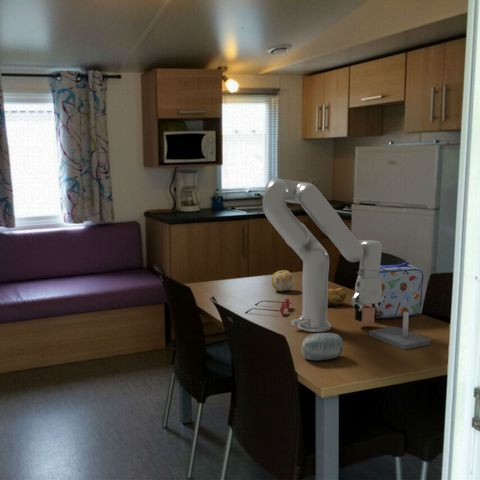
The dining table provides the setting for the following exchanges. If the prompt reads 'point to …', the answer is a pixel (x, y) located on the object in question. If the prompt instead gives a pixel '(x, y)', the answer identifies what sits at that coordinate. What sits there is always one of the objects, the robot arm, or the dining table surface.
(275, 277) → the fruit
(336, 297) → the bread roll
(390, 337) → the grey peg stand
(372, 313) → the bead
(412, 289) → the lunch box
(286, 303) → the glasses
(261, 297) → the dining table surface
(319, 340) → the grey yarn ball
